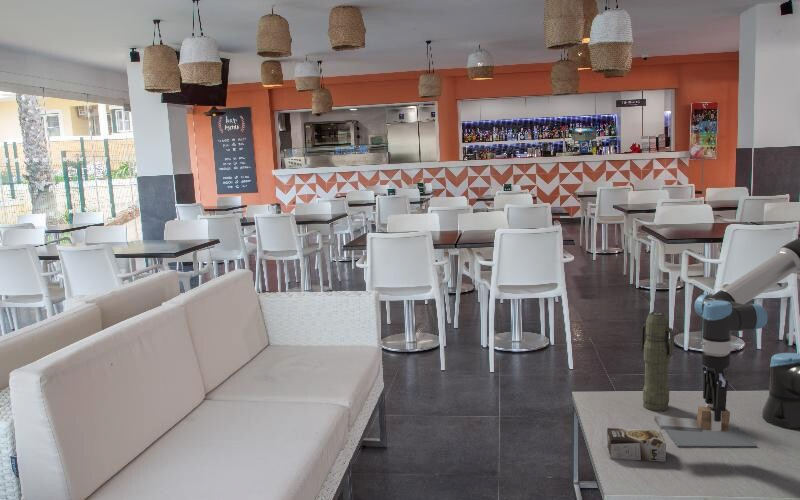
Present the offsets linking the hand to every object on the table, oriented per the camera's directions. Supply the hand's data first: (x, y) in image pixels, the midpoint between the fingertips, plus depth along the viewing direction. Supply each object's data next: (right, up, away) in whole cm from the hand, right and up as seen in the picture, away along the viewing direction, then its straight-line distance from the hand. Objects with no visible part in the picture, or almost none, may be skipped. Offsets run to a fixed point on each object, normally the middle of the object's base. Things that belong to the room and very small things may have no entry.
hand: (713, 427), depth 198 cm
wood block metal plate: (-6, 0, +1) cm, 6 cm away
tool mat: (+5, -7, +14) cm, 16 cm away
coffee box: (-14, -6, +3) cm, 15 cm away
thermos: (-1, -4, +40) cm, 41 cm away
